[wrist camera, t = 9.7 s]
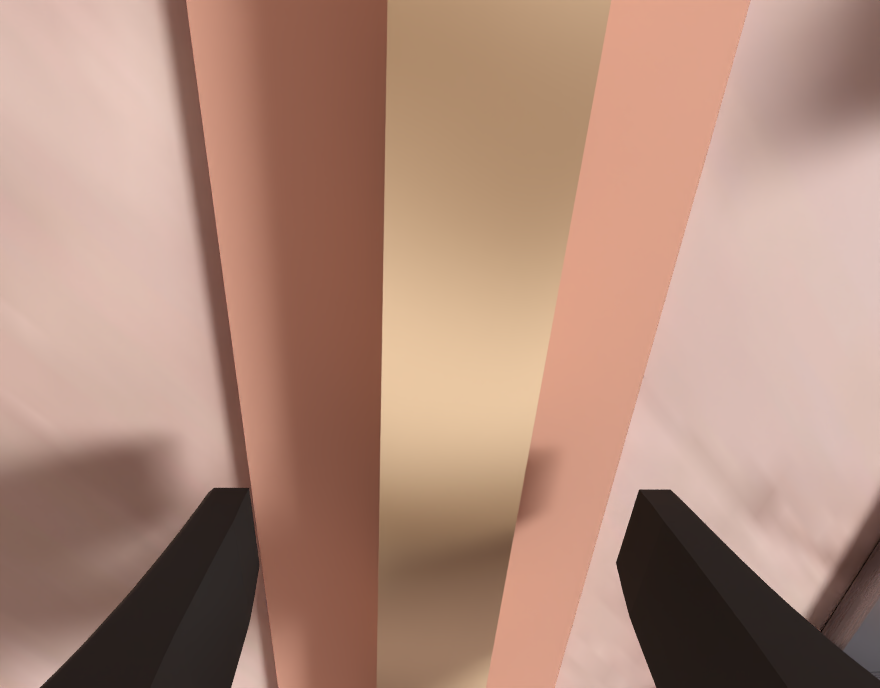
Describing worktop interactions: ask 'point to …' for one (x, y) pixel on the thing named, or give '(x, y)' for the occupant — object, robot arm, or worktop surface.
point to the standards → (860, 618)
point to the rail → (469, 304)
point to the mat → (361, 304)
